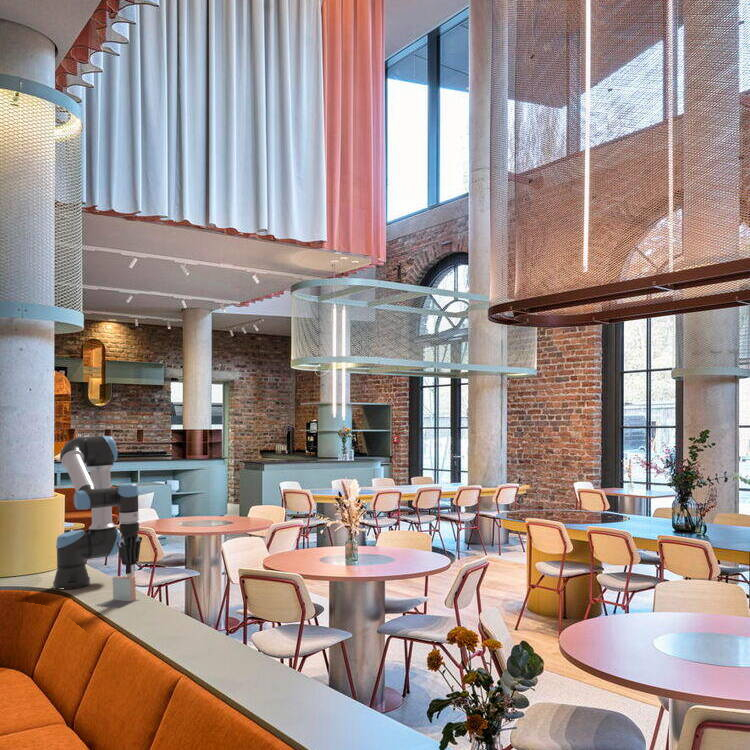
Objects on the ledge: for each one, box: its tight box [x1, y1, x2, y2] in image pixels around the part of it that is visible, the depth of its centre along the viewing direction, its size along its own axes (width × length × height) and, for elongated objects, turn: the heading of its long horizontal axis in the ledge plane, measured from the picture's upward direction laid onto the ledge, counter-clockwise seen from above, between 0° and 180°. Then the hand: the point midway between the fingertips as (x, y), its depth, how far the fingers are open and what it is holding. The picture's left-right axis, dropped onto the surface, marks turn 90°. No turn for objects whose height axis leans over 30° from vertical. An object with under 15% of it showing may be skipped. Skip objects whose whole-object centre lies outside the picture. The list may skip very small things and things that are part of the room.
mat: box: [94, 598, 140, 609], centre depth 312 cm, size 12×12×1 cm
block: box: [112, 575, 137, 602], centre depth 316 cm, size 3×9×9 cm, turn 68°
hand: (130, 580), depth 320 cm, fingers closed
